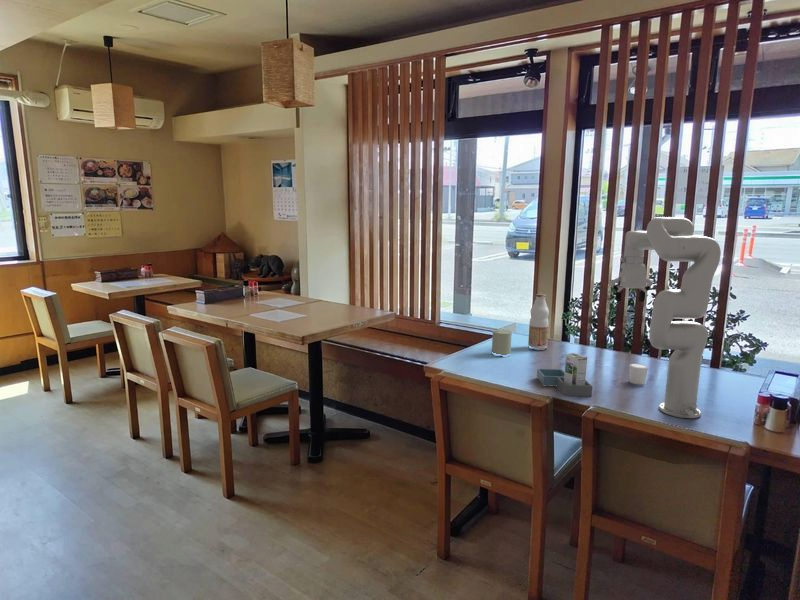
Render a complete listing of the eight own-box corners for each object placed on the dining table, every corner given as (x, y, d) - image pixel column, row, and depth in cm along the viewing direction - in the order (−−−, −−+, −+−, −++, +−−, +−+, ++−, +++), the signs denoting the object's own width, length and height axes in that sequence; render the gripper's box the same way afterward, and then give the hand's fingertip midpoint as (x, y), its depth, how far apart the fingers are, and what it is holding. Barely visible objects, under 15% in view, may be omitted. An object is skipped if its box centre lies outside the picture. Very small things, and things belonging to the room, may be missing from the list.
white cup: (636, 385, 201) (637, 368, 200) (624, 380, 208) (625, 363, 207) (650, 384, 203) (651, 367, 202) (638, 379, 209) (639, 362, 208)
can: (489, 352, 248) (490, 328, 246) (507, 352, 249) (508, 328, 247) (494, 357, 239) (495, 332, 237) (513, 357, 240) (514, 332, 238)
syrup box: (562, 390, 194) (564, 353, 192) (574, 388, 196) (577, 352, 194) (572, 395, 189) (575, 357, 187) (585, 393, 191) (587, 356, 189)
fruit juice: (527, 350, 254) (531, 295, 249) (528, 345, 263) (531, 292, 258) (547, 351, 251) (550, 296, 247) (547, 347, 260) (550, 293, 256)
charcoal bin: (591, 396, 188) (592, 386, 187) (564, 396, 188) (565, 385, 187) (582, 387, 198) (583, 377, 197) (556, 387, 198) (557, 377, 197)
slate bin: (568, 386, 199) (569, 376, 198) (543, 386, 199) (543, 376, 198) (560, 378, 208) (561, 369, 208) (536, 378, 209) (537, 368, 208)
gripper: (616, 261, 207) (612, 302, 210) (658, 261, 207) (654, 303, 209) (608, 259, 214) (605, 299, 217) (649, 260, 214) (646, 300, 217)
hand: (629, 301), depth 213 cm, fingers open, 9 cm apart
